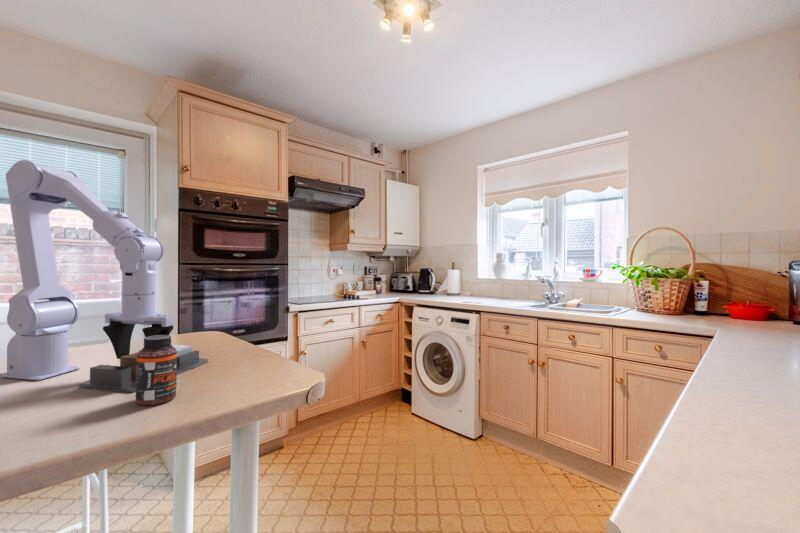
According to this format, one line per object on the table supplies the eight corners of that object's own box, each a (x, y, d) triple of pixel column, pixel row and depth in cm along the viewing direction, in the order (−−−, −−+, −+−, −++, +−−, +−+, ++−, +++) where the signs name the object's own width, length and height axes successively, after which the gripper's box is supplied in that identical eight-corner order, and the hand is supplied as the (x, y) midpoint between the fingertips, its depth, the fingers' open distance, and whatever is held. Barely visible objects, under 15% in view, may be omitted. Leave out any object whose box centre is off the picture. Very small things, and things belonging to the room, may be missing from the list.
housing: (120, 376, 71) (120, 357, 71) (143, 368, 77) (143, 350, 77) (139, 378, 71) (139, 358, 71) (161, 369, 76) (162, 351, 76)
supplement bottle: (155, 408, 59) (156, 341, 58) (126, 405, 60) (127, 339, 60) (184, 395, 64) (185, 334, 64) (157, 392, 66) (157, 332, 65)
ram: (157, 362, 80) (157, 349, 80) (174, 357, 85) (174, 343, 85) (175, 364, 80) (175, 350, 79) (191, 358, 84) (192, 345, 84)
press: (78, 387, 67) (79, 366, 67) (164, 358, 87) (164, 343, 87) (132, 392, 65) (133, 371, 65) (208, 362, 85) (208, 345, 85)
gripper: (185, 293, 76) (184, 356, 76) (127, 291, 78) (126, 351, 78) (157, 296, 69) (156, 365, 69) (94, 293, 71) (94, 360, 71)
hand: (138, 358), depth 73 cm, fingers open, 7 cm apart
